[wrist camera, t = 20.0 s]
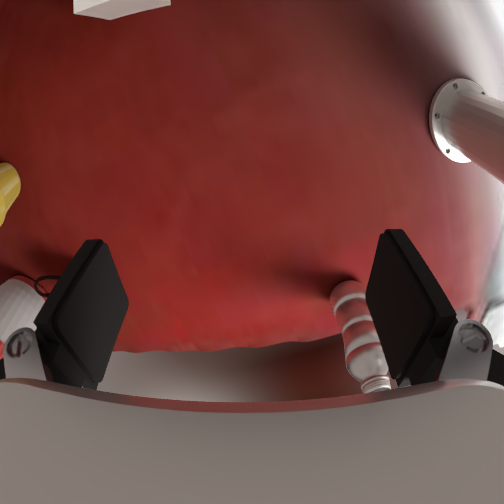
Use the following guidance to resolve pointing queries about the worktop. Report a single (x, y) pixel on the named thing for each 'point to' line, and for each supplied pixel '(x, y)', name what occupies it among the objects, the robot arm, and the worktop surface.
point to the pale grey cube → (115, 7)
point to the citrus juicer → (18, 306)
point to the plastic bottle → (359, 337)
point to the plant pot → (8, 188)
